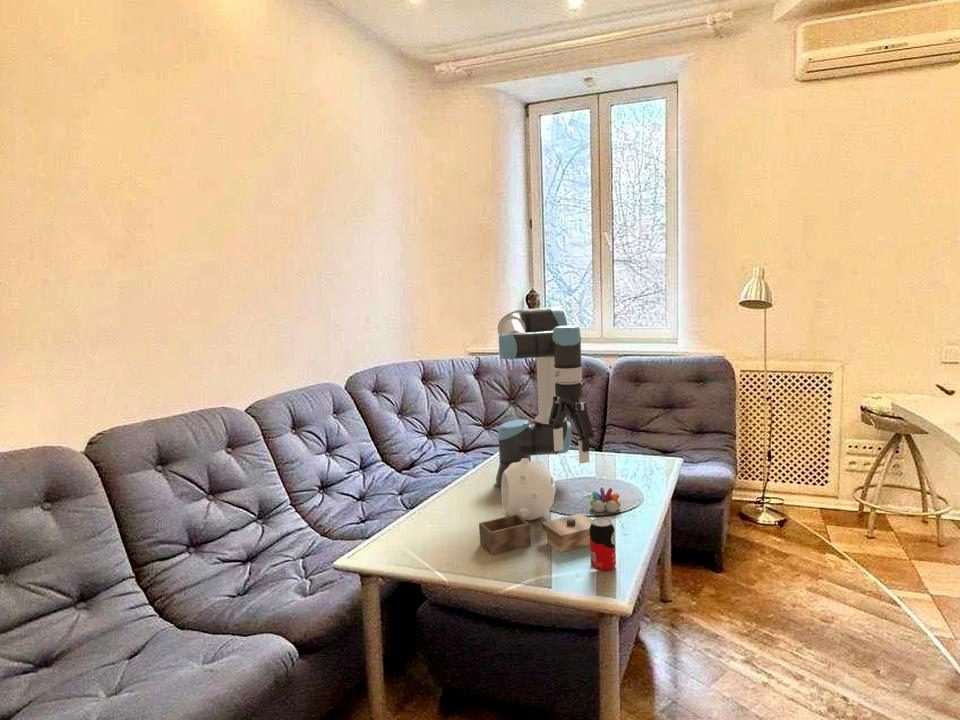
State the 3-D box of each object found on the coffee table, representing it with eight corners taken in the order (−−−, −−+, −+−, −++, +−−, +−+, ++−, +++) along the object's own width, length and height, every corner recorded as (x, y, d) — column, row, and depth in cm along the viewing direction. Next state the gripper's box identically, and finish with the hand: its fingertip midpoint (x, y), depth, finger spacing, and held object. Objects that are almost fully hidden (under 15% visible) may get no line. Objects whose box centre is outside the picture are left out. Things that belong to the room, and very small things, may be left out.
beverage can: (600, 574, 148) (598, 528, 147) (586, 564, 154) (584, 520, 152) (620, 568, 151) (619, 523, 149) (606, 558, 156) (604, 515, 155)
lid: (561, 542, 158) (560, 531, 158) (542, 529, 168) (541, 518, 168) (601, 532, 163) (601, 521, 163) (581, 519, 173) (580, 509, 172)
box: (491, 557, 161) (490, 533, 160) (480, 546, 168) (479, 522, 167) (530, 547, 165) (529, 523, 165) (518, 537, 173) (516, 514, 172)
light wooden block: (560, 554, 161) (559, 540, 160) (547, 544, 167) (546, 531, 166) (597, 544, 165) (596, 530, 165) (583, 535, 172) (582, 522, 171)
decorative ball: (565, 528, 177) (562, 465, 175) (509, 535, 174) (505, 471, 172) (547, 505, 197) (544, 448, 194) (496, 511, 194) (493, 453, 192)
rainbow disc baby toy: (621, 514, 185) (620, 492, 185) (589, 514, 187) (589, 492, 187) (620, 504, 194) (619, 483, 193) (590, 504, 196) (589, 483, 195)
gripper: (535, 377, 173) (538, 447, 176) (581, 390, 150) (583, 470, 153) (557, 374, 176) (560, 443, 179) (605, 386, 153) (608, 465, 156)
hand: (571, 456), depth 166 cm, fingers open, 13 cm apart
